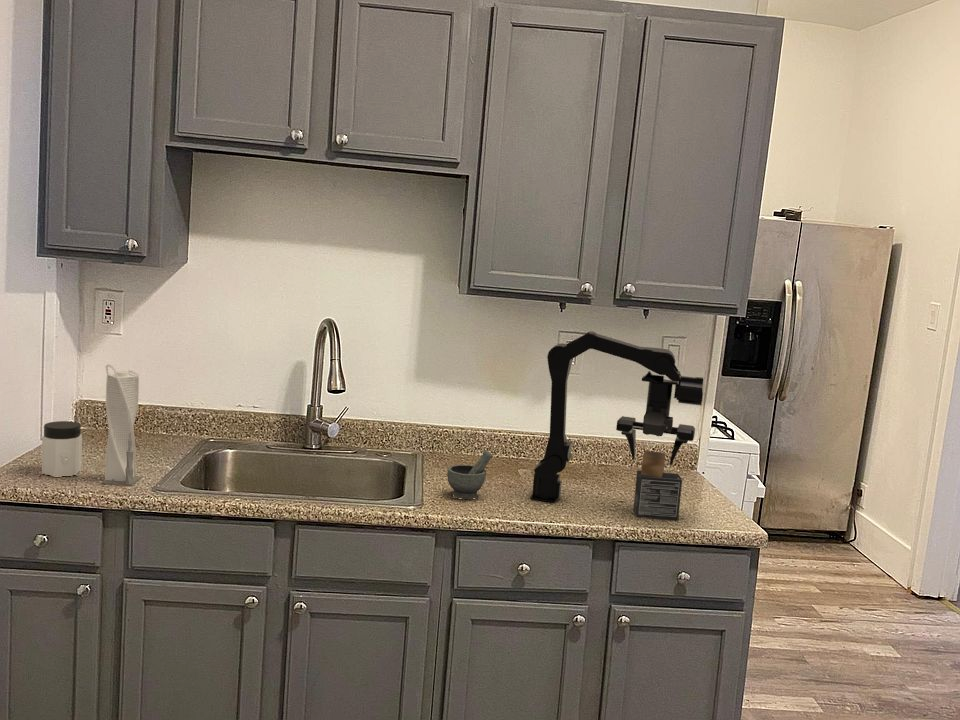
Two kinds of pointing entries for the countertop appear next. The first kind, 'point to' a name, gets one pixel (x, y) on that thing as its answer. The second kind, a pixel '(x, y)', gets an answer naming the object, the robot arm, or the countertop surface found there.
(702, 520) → the countertop surface
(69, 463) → the jar
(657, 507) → the small box
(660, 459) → the block
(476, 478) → the mortar and pestle
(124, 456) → the skyscraper
